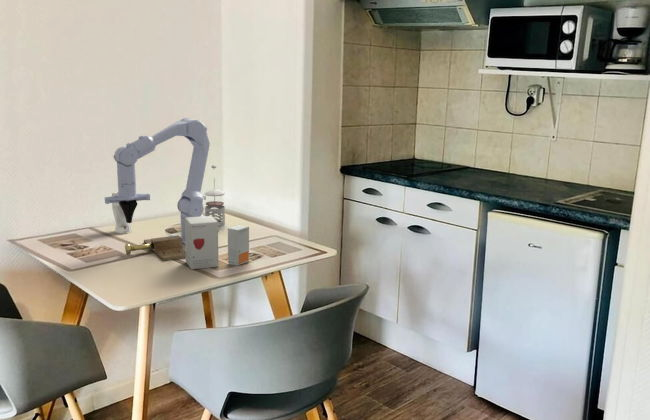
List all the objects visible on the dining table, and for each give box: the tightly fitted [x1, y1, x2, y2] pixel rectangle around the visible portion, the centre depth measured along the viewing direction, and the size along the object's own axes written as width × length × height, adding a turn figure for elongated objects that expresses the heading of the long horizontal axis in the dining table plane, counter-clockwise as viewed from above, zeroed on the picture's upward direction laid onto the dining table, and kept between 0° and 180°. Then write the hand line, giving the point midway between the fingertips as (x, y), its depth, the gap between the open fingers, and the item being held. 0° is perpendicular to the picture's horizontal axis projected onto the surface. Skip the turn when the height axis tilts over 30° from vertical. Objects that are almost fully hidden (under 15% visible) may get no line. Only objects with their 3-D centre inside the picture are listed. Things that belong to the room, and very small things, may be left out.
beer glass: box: [111, 191, 133, 235], centre depth 225 cm, size 7×7×15 cm
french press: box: [202, 164, 228, 231], centre depth 234 cm, size 10×12×25 cm
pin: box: [124, 243, 154, 255], centre depth 201 cm, size 10×4×4 cm, turn 121°
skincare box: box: [227, 224, 250, 267], centre depth 192 cm, size 6×4×12 cm
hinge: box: [143, 234, 186, 262], centre depth 205 cm, size 10×24×4 cm, turn 31°
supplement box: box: [184, 215, 220, 270], centre depth 189 cm, size 9×9×15 cm
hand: (128, 222), depth 202 cm, fingers closed
